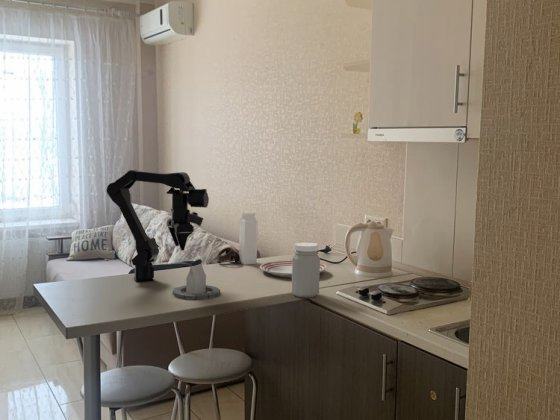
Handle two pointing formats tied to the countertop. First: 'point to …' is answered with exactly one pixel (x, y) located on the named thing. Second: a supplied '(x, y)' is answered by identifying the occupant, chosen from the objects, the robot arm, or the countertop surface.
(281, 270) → the dinner plate
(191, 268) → the tea bag
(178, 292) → the ring
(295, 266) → the jar
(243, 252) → the milk
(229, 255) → the pottery mug
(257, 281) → the countertop surface
